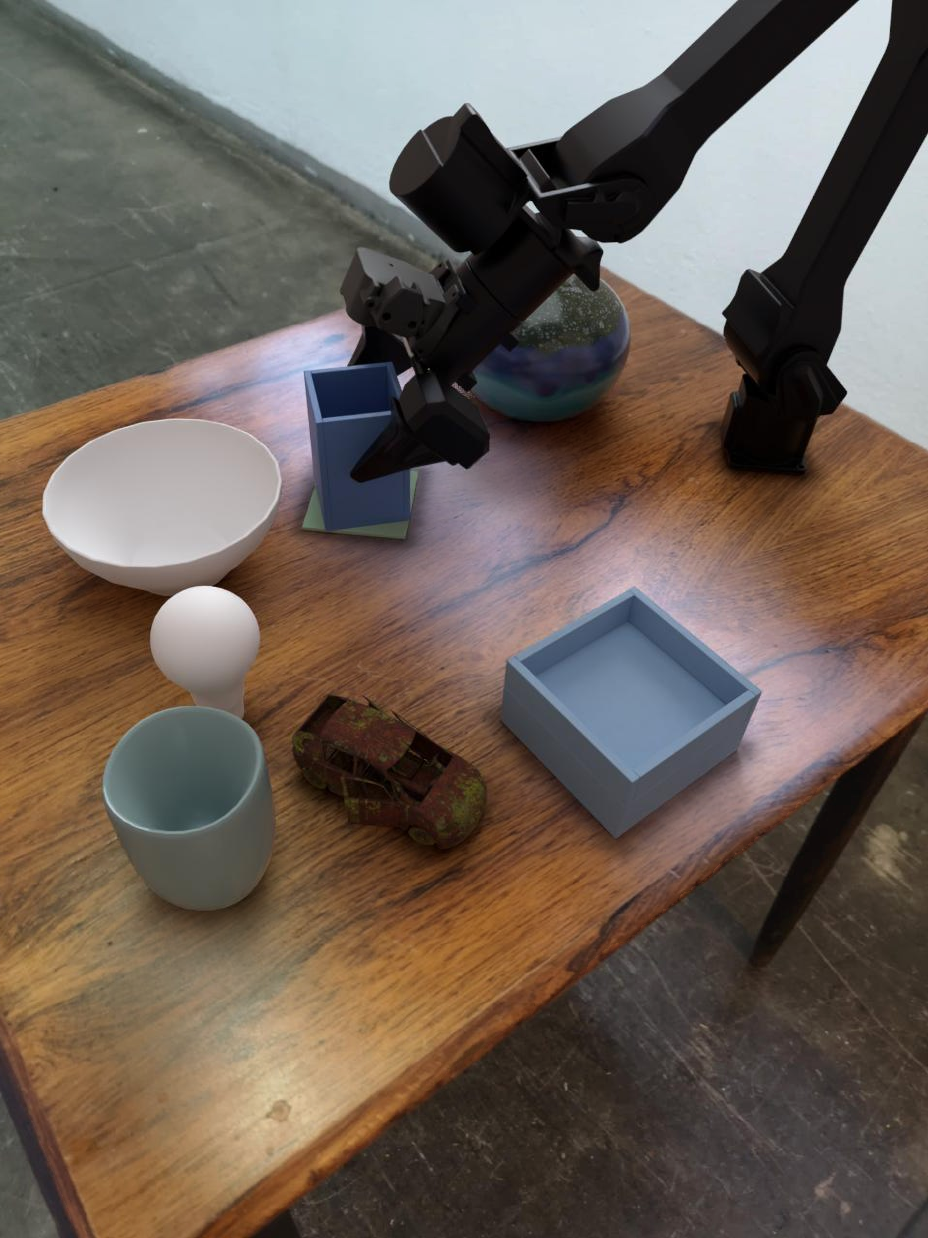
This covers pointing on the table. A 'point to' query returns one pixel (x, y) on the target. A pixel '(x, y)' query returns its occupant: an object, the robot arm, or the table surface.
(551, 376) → the vase
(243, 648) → the lightbulb
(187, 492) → the bowl
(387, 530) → the mat
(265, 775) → the cup
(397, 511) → the upper bin
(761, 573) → the table surface
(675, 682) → the lower bin
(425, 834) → the toy car
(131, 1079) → the table surface
